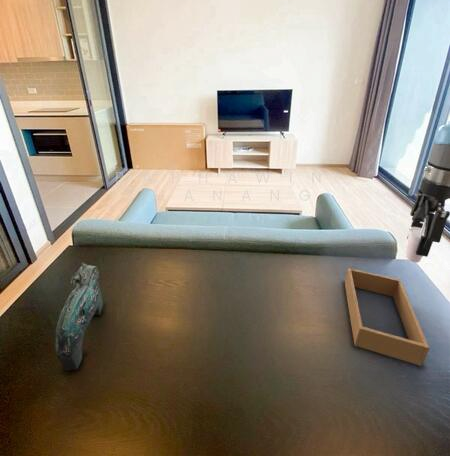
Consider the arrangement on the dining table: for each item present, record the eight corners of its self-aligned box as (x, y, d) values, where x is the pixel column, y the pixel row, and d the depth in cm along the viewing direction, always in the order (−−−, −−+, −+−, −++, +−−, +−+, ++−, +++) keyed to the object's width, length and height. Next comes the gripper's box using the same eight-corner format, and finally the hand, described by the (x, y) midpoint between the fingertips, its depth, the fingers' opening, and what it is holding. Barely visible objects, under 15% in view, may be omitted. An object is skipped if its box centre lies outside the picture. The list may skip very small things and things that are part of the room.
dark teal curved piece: (91, 302, 79) (78, 253, 72) (111, 300, 80) (100, 252, 73) (57, 374, 61) (35, 319, 54) (84, 372, 61) (66, 316, 54)
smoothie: (399, 258, 78) (410, 221, 73) (402, 247, 82) (413, 212, 77) (424, 269, 73) (438, 230, 69) (426, 257, 78) (440, 220, 73)
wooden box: (395, 295, 82) (400, 279, 80) (421, 366, 63) (429, 348, 60) (344, 283, 87) (348, 267, 84) (354, 345, 67) (359, 328, 65)
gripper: (410, 166, 78) (393, 226, 86) (440, 195, 60) (414, 267, 69) (439, 168, 76) (418, 230, 84) (478, 200, 58) (446, 273, 66)
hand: (416, 246), depth 76 cm, fingers closed on smoothie, 6 cm apart
